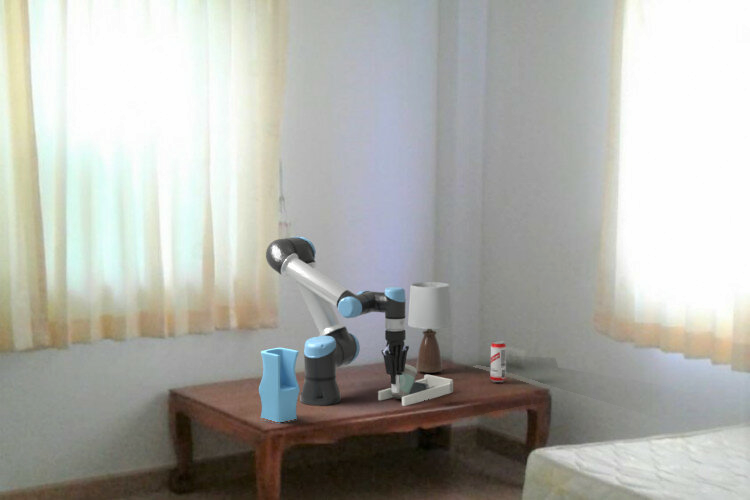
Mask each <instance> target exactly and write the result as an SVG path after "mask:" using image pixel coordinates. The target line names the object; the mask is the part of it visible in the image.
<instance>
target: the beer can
mask: <svg viewBox="0 0 750 500" xmlns="http://www.w3.org/2000/svg"><path fill="white" fill-rule="evenodd" d="M489 376H490V380H491V381H492V382H493V383H502V382H505V380H506V379H507V346H506V342H505V341H503V340H493V341H492V343H491V345H490V375H489Z"/></svg>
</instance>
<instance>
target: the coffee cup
mask: <svg viewBox="0 0 750 500" xmlns="http://www.w3.org/2000/svg"><path fill="white" fill-rule="evenodd" d="M401 369H402V368H401ZM402 373H403V374H402V375H400V383H399V393H394V392H392V396H393V398H395V399H397V400H402V397H403V396H407V395H410V394H409V392H410V390H411V387H412V385H413V382H414V381H416V380H415V379H416V377H417V376H418V370H417V367H416V366H413V365H410V364H406V363H405V369H404V372H402Z"/></svg>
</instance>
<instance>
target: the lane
mask: <svg viewBox="0 0 750 500" xmlns="http://www.w3.org/2000/svg"><path fill="white" fill-rule="evenodd" d="M415 381H416V382H421V383H426V384H428V387H431V386H434V388H430V389H427V390H424V391H420V392H417V393H413V394H409V395H407V396H403V397H402V399H401V406H403V407H405V406H410V405H413V404H417V403H420V402H424V400H425V401H428V399H429V400H433V399H435V398H438V397H441V396H446V395H448V394H449V395H450V394H451V393H453V392H454V380H453V379H452V378H446V377H442V376H437V375H431V374H427V373H426V374H424V376H423V378H420V379H416V380H415ZM392 398H394V397H393V396H392V387H389V388H386V389H382V390H378V391H377V400H378V401H384V400H387V399H388V400H389V399H392Z"/></svg>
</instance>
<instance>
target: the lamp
mask: <svg viewBox="0 0 750 500" xmlns="http://www.w3.org/2000/svg"><path fill="white" fill-rule="evenodd" d="M409 288H410V290H409V303H408V304H409V305H408V319H407V320H408V321H407V325H408V327H410V328H413V329H414V328H415V329H424V330H423V331H422V334H423V337H422V339H421V342H420V344H419V348H418V355H417V360H416V369H417V372H421V373H430V374H431V373H438V372H441V371H443V360H442V354H441V348H440V344H439V341H438V339H437V335H436V334H437V331H435V329H436V330H437V329H438V330H440V329H447V328H450V327H452V312H451V311H452V310H451V296H450V295H451V293H450V284H449V283H444V282H437V281H434V282H433V281H427V282H426V281H424V282H413V283H410V287H409Z"/></svg>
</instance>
